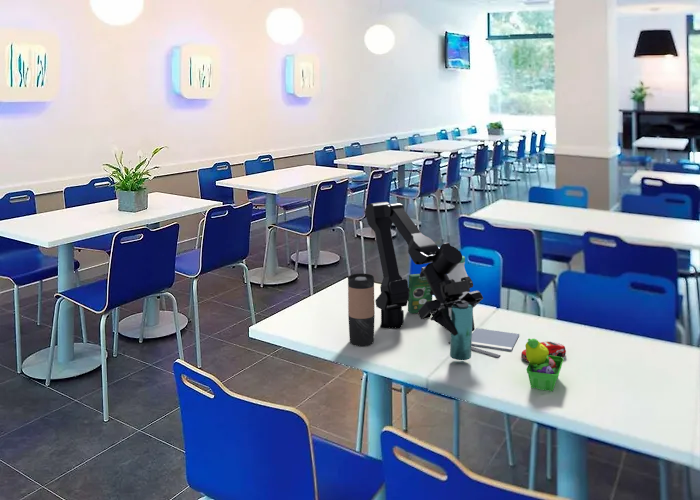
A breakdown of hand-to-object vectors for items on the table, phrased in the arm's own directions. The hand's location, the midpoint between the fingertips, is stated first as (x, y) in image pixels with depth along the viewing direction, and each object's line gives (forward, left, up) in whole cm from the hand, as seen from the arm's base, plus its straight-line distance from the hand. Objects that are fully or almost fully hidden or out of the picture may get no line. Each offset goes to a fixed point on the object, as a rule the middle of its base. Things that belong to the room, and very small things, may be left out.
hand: (464, 332), depth 163 cm
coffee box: (-15, +40, -9) cm, 44 cm away
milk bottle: (-3, +38, -9) cm, 39 cm away
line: (+3, +10, -9) cm, 14 cm away
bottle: (-1, +1, -7) cm, 7 cm away
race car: (+21, +8, -9) cm, 25 cm away
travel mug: (-30, +11, -9) cm, 33 cm away
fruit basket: (+19, -8, -9) cm, 23 cm away
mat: (+8, +18, -9) cm, 22 cm away
